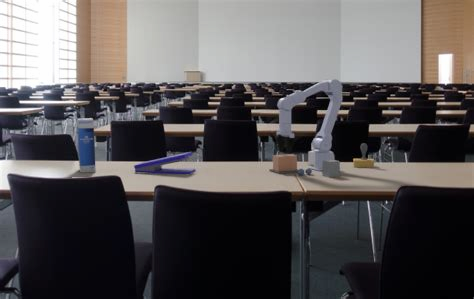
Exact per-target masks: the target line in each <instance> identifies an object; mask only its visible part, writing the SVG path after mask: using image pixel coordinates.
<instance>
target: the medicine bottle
mask: <svg viewBox="0 0 474 299" xmlns="http://www.w3.org/2000/svg"><path fill="white" fill-rule="evenodd" d="M307 153H308V156H307V157H308V159H307V161H308V162H307V164H308V166H313V167H314V147H313V146H312V145H311V150H310V151H308V152H307Z"/></svg>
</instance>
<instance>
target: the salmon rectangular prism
mask: <svg viewBox="0 0 474 299" xmlns="http://www.w3.org/2000/svg"><path fill="white" fill-rule="evenodd" d="M272 161H273V162H272V165H273V166H272V169H273V170H275V171H291V170H297V169H298V155H295V154H292V153H290V154H289V153H287V154H277V155H276V154H275V155H274V154H273V155H272Z"/></svg>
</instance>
